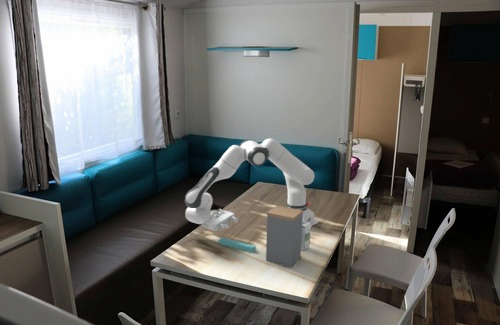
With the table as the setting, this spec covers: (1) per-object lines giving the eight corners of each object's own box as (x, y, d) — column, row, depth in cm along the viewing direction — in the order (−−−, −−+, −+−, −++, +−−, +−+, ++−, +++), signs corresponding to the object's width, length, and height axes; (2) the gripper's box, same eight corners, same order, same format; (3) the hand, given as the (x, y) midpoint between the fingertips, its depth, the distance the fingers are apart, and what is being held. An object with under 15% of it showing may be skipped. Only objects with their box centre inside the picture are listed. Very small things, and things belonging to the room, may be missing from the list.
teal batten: (219, 244, 235) (219, 239, 234) (222, 242, 238) (222, 237, 237) (252, 253, 225) (253, 248, 225) (255, 251, 228) (255, 245, 227)
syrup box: (300, 244, 236) (301, 220, 232) (309, 247, 232) (311, 222, 228) (294, 248, 231) (296, 223, 228) (304, 251, 228) (305, 226, 224)
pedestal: (266, 260, 217) (267, 212, 210) (276, 251, 227) (277, 205, 221) (291, 267, 210) (293, 218, 204) (300, 257, 221) (302, 210, 214)
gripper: (200, 219, 226) (222, 224, 220) (221, 207, 243) (242, 212, 237) (200, 230, 228) (222, 236, 221) (221, 218, 245) (242, 222, 239)
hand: (233, 223), depth 229 cm, fingers open, 8 cm apart
